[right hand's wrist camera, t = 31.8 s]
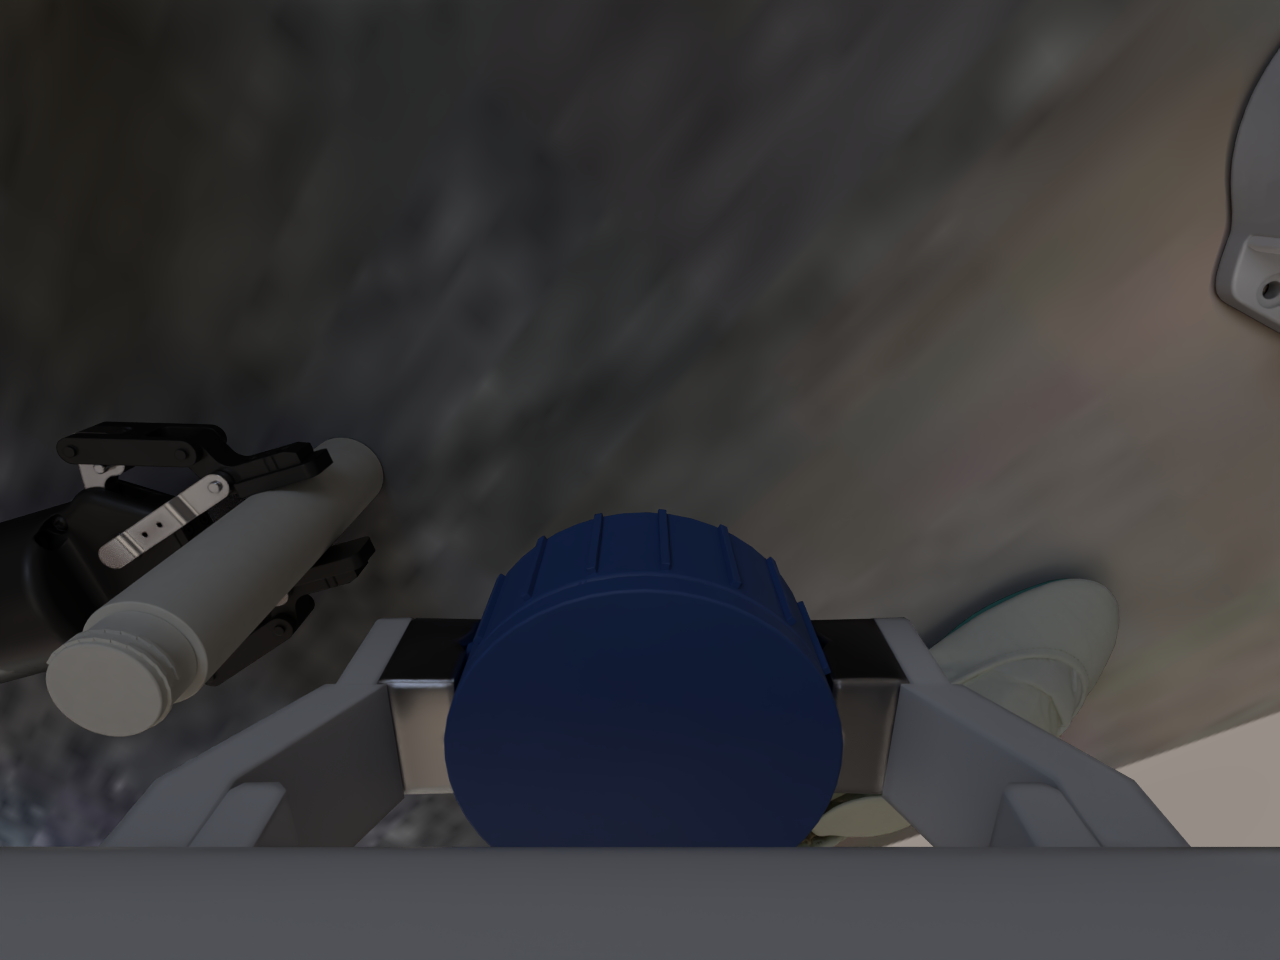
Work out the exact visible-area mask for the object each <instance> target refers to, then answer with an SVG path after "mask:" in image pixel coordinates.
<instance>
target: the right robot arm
mask: <svg viewBox="0 0 1280 960" xmlns="http://www.w3.org/2000/svg"><path fill="white" fill-rule="evenodd" d="M1231 204H1232V224H1231V232H1230V235H1229V237H1228V240H1227V243H1226V246H1225V249H1224V251H1223V254H1222V257H1221V260H1220V264H1219V267H1218V271H1217V275H1216V283H1215V287H1216V292H1217V295H1218V296H1219V298H1220V299H1221V300H1222V301H1224V302H1225V303H1227V304H1228V305H1230V306H1232V307H1234V308H1236V309H1237V310H1239V311H1241V312H1243V313H1244V314H1246V315H1248V316H1250V317H1252V318H1253V319H1255V320H1257V321H1259V322H1261V323H1262V324H1264V325H1266V326H1268V327H1270V328H1271V329H1273V330H1275V331H1277V332H1278V333H1280V48H1279V49H1278V51H1277V52H1276V54H1275V55H1274V57H1273V58H1272V60H1271V61H1270V63H1269V64H1268V66H1267V67H1266V69H1265V71H1264V72H1263V74H1262V76H1261V78H1260V79H1259V81H1258V83H1257V85H1256V87H1255V89H1254V91H1253V93H1252V95H1251V97H1250V100H1249V102H1248V104H1247V107H1246V109H1245V112H1244V115H1243V117H1242V120H1241V123H1240V126H1239V130H1238V133H1237V137H1236V141H1235V146H1234V151H1233V157H1232V165H1231ZM1268 283H1269V288H1268V291H1267V292H1266V293H1265V294H1264V295H1263V294H1262V293H1263V289H1264V287H1265V286H1266V285H1267V284H1268ZM480 621H481V619H441V618H415V619H414V618H382V619H379V620H377V621H376V622H375V623H374V625H373V626H372V628H371V629H370V631H369V632H368V634H367V636H366V637H365V639H364V640H363V642H362V643H361V645H360V647H359V648H358V650H357V651H356V653H355V654H354V656H353V658H352V659H351V661H350V662H349V664H348V665H347V667H346V669H345V670H344V672H343V673H342V675H341V676H340V678H339V680H338V681H337V683H336V684H325V685H323V686H321V687H319V688H317V689H316V690H314V691H312V692H310V693H309V694H307V695H305V696H303V697H301V698H300V699H298V700H296V701H294V702H293V703H291V704H289V705H287V706H285V707H284V708H282V709H280V710H278V711H276V712H275V713H273V714H271V715H269V716H268V717H266V718H264V719H262V720H260V721H259V722H257V723H255V724H253V725H252V726H250V727H248V728H246V729H244V730H243V731H241V732H239V733H237V734H236V735H234V736H232V737H230V738H228V739H227V740H225V741H223V742H221V743H219V744H218V745H216V746H214V747H212V748H211V749H209V750H207V751H205V752H203V753H202V754H200V755H198V756H196V757H195V758H193V759H191V760H189V761H187V762H186V763H184V764H182V765H180V766H178V767H177V768H175V769H173V770H171V771H170V772H168V773H166V774H164V775H162V776H161V777H159V778H157V779H156V780H155V781H154V782H153V783H152V784H151V785H150V787H149V788H148V789H147V790H146V791H145V793H144V794H143V795H142V796H141V797H140V798H139V800H138V801H137V802H136V803H135V804H134V806H133V807H132V808H131V809H130V810H129V812H128V813H127V814H126V815H125V816H124V817H123V819H122V820H121V821H120V822H119V823H118V825H117V826H116V827H115V828H114V829H113V830H112V832H111V833H110V834H109V835H108V836H107V838H106V839H105V840H104V841H103V842H102V844H101V845H100V846H99V847H0V960H1280V847H1191V846H1190V845H1189V844H1188V843H1187V842H1186V841H1185V839H1184V838H1183V837H1182V836H1181V835H1180V834H1179V832H1178V831H1177V830H1176V829H1175V828H1174V826H1173V825H1172V824H1171V823H1170V822H1169V821H1168V819H1167V818H1166V817H1165V816H1164V815H1163V814H1162V812H1161V811H1160V810H1159V809H1158V808H1157V807H1156V805H1155V804H1154V803H1153V802H1152V801H1151V799H1150V798H1149V797H1148V796H1147V795H1146V794H1145V792H1144V791H1143V790H1142V789H1141V788H1140V787H1139V785H1138V784H1137V783H1136V782H1135V781H1134V780H1133V779H1131V778H1129V777H1127V776H1125V775H1124V774H1122V773H1120V772H1118V771H1117V770H1115V769H1113V768H1111V767H1109V766H1108V765H1106V764H1104V763H1102V762H1100V761H1099V760H1097V759H1095V758H1093V757H1091V756H1090V755H1088V754H1086V753H1084V752H1082V751H1081V750H1079V749H1077V748H1075V747H1074V746H1072V745H1070V744H1068V743H1066V742H1065V741H1063V740H1061V739H1059V738H1057V737H1056V736H1054V735H1052V734H1050V733H1048V732H1047V731H1045V730H1043V729H1041V728H1039V727H1038V726H1036V725H1034V724H1032V723H1030V722H1029V721H1027V720H1025V719H1023V718H1022V717H1020V716H1018V715H1016V714H1014V713H1013V712H1011V711H1009V710H1007V709H1005V708H1004V707H1002V706H1000V705H998V704H996V703H995V702H993V701H991V700H989V699H987V698H986V697H984V696H982V695H980V694H979V693H977V692H975V691H973V690H971V689H970V688H968V687H966V686H964V685H962V684H951V683H950V681H949V680H948V678H947V677H946V675H945V674H944V672H943V671H942V669H941V668H940V666H939V665H938V663H937V662H936V660H935V659H934V657H933V656H932V654H931V653H930V651H929V650H928V648H927V647H926V645H925V644H924V642H923V640H922V639H921V637H920V636H919V634H918V633H917V631H916V630H915V628H914V627H913V625H912V624H911V622H910V621H909V620H908V619H906V618H904V617H898V618H871V619H842V620H811V623H812V625H813V628H814V630H815V633H816V635H817V638H818V640H819V643H820V645H821V648H822V650H823V653H824V655H825V658H826V660H827V663H828V665H829V668H830V670H831V673H829V674H826V675H825V676H826V678H827V681H828V684H829V687H830V689H831V691H832V694H833V697H834V699H835V702H836V706H837V709H838V713H839V717H840V720H841V726H842V736H843V754H842V766H841V770H840V774H839V778H838V782H837V786H836V789H835V791H834V793H854V794H882V798H883V799H884V800H885V801H887V802H888V803H889V804H890V805H891V806H892V807H893V808H894V809H895V810H896V811H897V812H898V813H899V814H900V815H901V816H902V817H903V818H904V819H905V820H906V821H907V822H908V823H909V824H911V825H912V826H913V827H914V828H915V829H916V830H917V831H918V832H919V833H920V834H921V835H922V836H923V837H924V838H925V839H926V840H927V841H928V842H929V843H930V844H931V845H932V846H933V847H354V846H355V845H356V844H357V843H358V842H359V841H360V840H361V839H362V838H363V837H364V836H365V835H366V834H367V833H368V832H369V831H370V830H371V829H372V828H373V827H375V826H376V825H377V824H378V823H379V822H380V821H381V820H382V819H383V818H384V817H385V816H386V815H387V814H388V813H389V812H390V811H391V810H392V809H393V808H394V807H395V806H396V805H397V804H398V803H399V802H400V801H401V800H402V799H404V794H431V793H453V790H452V787H451V784H450V782H449V778H448V773H447V768H446V763H445V753H444V735H445V727H446V720H447V715H448V712H449V709H450V706H451V703H452V700H453V696H454V694H455V691H456V688H457V685H458V683H459V680H460V678H461V675H462V673H463V670H464V668H465V665H466V662H467V657H466V648H467V645H468V644H469V643H471V642H473V639H474V637H475V634H476V632H477V629H478V626H479V624H480Z"/></svg>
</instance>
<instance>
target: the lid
mask: <svg viewBox="0 0 1280 960" xmlns="http://www.w3.org/2000/svg"><path fill="white" fill-rule="evenodd" d="M466 657H467V662H466V665H465V668H464V670H463V673H462V675H461V678H460V680H459V683H458V685H457V688H456V691H455V694H454V696H453V700H452V703H451V706H450V709H449V712H448V715H447V720H446V727H445V735H444V753H445V763H446V768H447V773H448V778H449V782H450V784H451V787H452V790H453V793H454V795H455V798H456V800H457V802H458V804H459V806H460V808H461V809H462V811H463V813H464V815H465V817H466V818H467V820H468V821H469V822H470V824H471V825H472V826H473V828H474V829H475V830H476V832H477V833H478V834H479V835H480V836H481V837H482V838H483V839H484V840H485V841H486V842H487V843H488V844H489V845H490V847H797V846H798V845H799V844H800V843H801V842H802V841H803V840H804V839H805V838H806V837H807V836H808V835H809V833H810V832H811V831H812V830H813V828H814V827H815V826H816V825H817V823H818V822H819V820H820V819H821V817H822V815H823V814H824V812H825V810H826V809H827V807H828V805H829V803H830V801H831V798H832V796H833V794H834V791H835V789H836V786H837V782H838V778H839V774H840V770H841V766H842V754H843V736H842V726H841V720H840V717H839V713H838V709H837V706H836V702H835V699H834V697H833V694H832V691H831V689H830V687H829V684H828V681H827V678H826V676H825V675H826V674H829V673H831V670H830V668H829V665H828V663H827V660H826V658H825V655H824V653H823V650H822V648H821V645H820V643H819V640H818V638H817V635H816V633H815V630H814V628H813V625H812V623H811V620H810V618H809V615H808V613H807V610H806V608H805V605H804V603H803V601H801V602H798V603H797V602H796V600H795V597H794V595H793V593H792V591H791V590H790V588H789V587H788V585H787V584H786V582H785V581H784V579H783V578H782V576H781V575H780V573H779V570H778V568H777V565H776V562H775V560H774V559H773V558H772V557H769V558H768V559H765V558H764V557H763V556H762V555H761V554H759V553H758V552H757V551H756V550H755V549H754V548H752V547H751V546H749V545H748V544H746V543H745V542H743V541H742V540H740V539H739V538H737V537H735V536H734V535H732V534H730V533H728V529H727V527H726V526H723V525H721V524H720V526H719V527H718V528H717V527H715V526H712V525H709V524H706V523H703V522H700V521H697V520H694V519H691V518H686V517H681V516H676V515H671V514H667V513H666V510H662V509H659V510H658V513H647V512H645V513H623V514H617V515H611V516H605V517H603V514H602V513H600V514H595V516H594V519H593V520H589V521H586V522H583V523H579V524H577V525H574V526H572V527H570V528H568V529H565V530H563V531H561V532H558V533H556V534H555V535H553V536H551V537H550V538H548V539H546V537H545V536H542V537H541V538H539V539H538V541H537V544H536V547H535V548H533V549H532V550H531V551H530V552H528V553H527V554H526V555H525V556H523V557H522V558H521V559H520V560H519V561H518V562H517V563H516V564H515V566H514V567H513V568H512V569H511V570H510V571H509V572H508V573H507V575H506V576H504V575H503V574H500V575H499V576H498V578H497V580H496V582H495V585H494V588H493V590H492V593H491V595H490V598H489V601H488V603H487V606H486V608H485V611H484V614H483V616H482V619H481V621H480V624H479V626H478V629H477V632H476V634H475V637H474V639H473V642H471V643H469V644H468V645H467V648H466Z"/></svg>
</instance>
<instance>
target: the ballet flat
mask: <svg viewBox="0 0 1280 960" xmlns="http://www.w3.org/2000/svg"><path fill="white" fill-rule="evenodd" d="M1118 628H1119V608H1118V604H1117V601H1116V599H1115V597H1114V596H1113V594H1112V593H1111V592H1110V590H1109V589H1107V588H1106V587H1105V586H1104V585H1102V584H1100V583H1098V582H1096V581H1092V580H1087V579H1076V578H1074V579H1057V580H1052V581H1048V582H1044V583H1041V584H1038V585H1035V586H1032V587H1029V588H1027V589H1024V590H1021V591H1019V592H1016V593H1014V594H1011V595H1009V596H1007V597H1005V598H1003V599H1001V600H998V601H996V602H994V603H992V604H990V605H988V606H986V607H985V608H983V609H981V610H980V611H978V612H976V613H975V614H973V615H972V616H970V617H969V618H968V619H966V620H965V621H963V622H962V623H961V624H960V625H958V626H957V627H956V628H955V629H953V630H952V631H951V632H950V633H949V634H947V635H946V636H945V637H944V638H943V639H942V640H941V641H940V642H938V643H937V644H935V645H934V646H933V647H932V648H930V649H929V651H930V653H931V654H932V656H933V657H934V659H935V660H936V662H937V663H938V665H939V666H940V668H941V669H942V671H943V672H944V674H945V675H946V677H947V678H948V680H949V681H950V683H951V684H962V685H964V686H966V687H968V688H970V689H971V690H973V691H975V692H977V693H979V694H980V695H982V696H984V697H986V698H987V699H989V700H991V701H993V702H995V703H996V704H998V705H1000V706H1002V707H1004V708H1005V709H1007V710H1009V711H1011V712H1013V713H1014V714H1016V715H1018V716H1020V717H1022V718H1023V719H1025V720H1027V721H1029V722H1030V723H1032V724H1034V725H1036V726H1038V727H1039V728H1041V729H1043V730H1045V731H1047V732H1048V733H1050V734H1052V735H1054V736H1056V737H1057V738H1059V737H1060V736H1061V735H1062V733H1063V732H1065V730H1066V729H1067V728H1068V727H1069V726H1070V724H1071V720H1072V719H1073V718H1074V717H1075V716H1076V714H1077V713H1078V712H1079V710H1080V709H1081V707H1082V706H1083V703H1084V701H1085V698H1086V696H1087V695H1088V694H1089V693H1090V691H1091V690H1092V689H1093V687H1094V686H1095V684H1096V682H1097V681H1098V679H1099V677H1100V675H1101V674H1102V672H1103V669H1104V667H1105V666H1106V664H1107V661H1108V659H1109V657H1110V655H1111V653H1112V651H1113V648H1114V646H1115V643H1116V637H1117V632H1118ZM908 826H911V824H909V823H908V822H907V821H906V820H905V819H904V818H903V817H902V816H901V815H900V814H899V813H898V812H897V811H896V810H895V809H894V808H893V807H892V806H891V805H890V804H889V803H888V802H887V801H885V800H884V799H883V798H882V794H854V793H834V794H833V796H832V798H831V801H830V803H829V805H828V807H827V809H826V810H825V812H824V814H823V815H822V817H821V819H820V820H819V822H818V823H817V825H816V826H815V827H814V828H813V830H812V831H811V832H810V833H809V835H808V836H807V837H806V838H805V839H804V840H803V841H802V842H801V843H800V844H799V845H798V846H797V847H834V846H835V845H837V844H838V843H839V842H842V841H843V840H845V839H846V838H847V837H870V836H878V835H883V834H888V833H892V832H895V831H899V830H901V829H903V828H906V827H908Z"/></svg>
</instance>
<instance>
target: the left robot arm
mask: <svg viewBox="0 0 1280 960" xmlns="http://www.w3.org/2000/svg"><path fill="white" fill-rule="evenodd" d="M226 442H227V437H226V434H225V432H224V431H223V430H222V429H221V428H220V427H218V426H216V425H210V424H174V423H138V422H102V423H100V424H97V425H95V426H92V427H89V428H87V429H84V430H82V431H79V432H77V433H74V434H73V435H70V436H68V437H65V438H63V439H61V440H59V441H58V443H57V447H56V448H57V452H58V454H59V456H60V457H61V458H62V459H63V460H64V461H66V462H68V463H70V464H78V465H79V469H80V473H81V476H82V480H83V483H84V487H85V489H84V490H82V491H81V492H79V493H78V494H77V495H76V496H75V498H74V499H73V501H72V502H69V503H66V504H62V505H59V506H55V507H52V508H49V509H45V510H42V511H39V512H35V513H32V514H28V515H25V516H22V517H18V518H15V519H12V520H8V521H5V522H2V523H0V683H4V682H8V681H12V680H16V679H19V678H23V677H27V676H31V675H34V674H38V673H42V672H46V671H47V669H48V666H49V664H47V661H48V659H49V657H50V656H51V654H52V653H53V652H54V651H55V650H57V649H58V648H59V647H61V646H62V645H63V644H64V643H66V642H67V641H68V640H70V639H71V638H72V637H74V636H75V635H76V634H78V633H80V632H83V629H84V626H85V624H86V622H87V620H88V619H89V618H90V616H91V615H92V614H93V613H94V612H95V611H97V610H98V609H99V608H101V607H102V606H103V605H105V604H106V603H107V602H109V601H110V600H111V599H113V598H114V597H115V596H117V595H118V594H119V593H121V592H122V591H123V590H125V589H126V588H128V587H129V586H130V585H132V584H133V583H134V582H136V581H137V580H138V579H140V578H141V577H142V576H144V575H145V574H146V573H148V572H149V571H150V570H152V569H153V568H154V567H156V566H157V565H158V564H160V563H161V562H162V561H164V560H165V559H167V558H168V557H169V556H171V555H172V554H173V553H175V552H176V551H177V550H179V549H180V548H181V547H183V546H184V545H185V544H187V543H188V542H189V541H191V540H192V539H193V538H195V537H196V536H197V535H199V534H200V533H201V532H203V531H204V530H205V529H207V528H208V527H210V526H211V525H212V524H213V521H212V520H211V518H210V516H209V514H208V513H207V511H206V510H208V509H209V508H211V507H212V506H214V505H215V504H217V503H218V502H220V501H221V500H223V499H224V498H225V497H227V496H230V495H234V494H237V493H238V495H239V497H240V499H242V498H245V497H248V496H252V495H255V494H258V493H262V492H266V491H269V490H273V489H276V488H280V487H283V486H286V485H290V484H293V483H297V482H300V481H304V480H307V479H310V478H313V477H315V476H317V475H319V474H320V473H322V472H323V471H324V470H325V469H326V468H328V467H329V466H330V465H331V464H332V463H333V460H332V458H331V456H330V454H329V452H328V450H327V448H324V449H320V450H317V451H314V450H313V448H312V446H311V444H310V443H306V442H296V443H292V444H289V445H286V446H282V447H279V448H276V449H272V450H269V451H265V452H262V453H259V454H255V455H252V456H243V455H240V454H238V453H236V452H234V451H233V450H232V449H231V448H230V447H229V446H228V445H227V444H226ZM135 466H159V467H189V468H190V469H191V470H192V471H193V472H194V473H195V474H196V475H197V476H198V477H199V478H200V479H201V480H199V481H198V482H196V483H195V484H193V485H192V486H190V487H189V488H188V489H186V490H185V491H183V492H182V493H180V494H179V495H177V496H172V495H169V494H166V493H162V492H159V491H156V490H152V489H149V488H146V487H142V486H139V485H136V484H133V483H129V482H126V481H123V480H118V477H119V475H120V474H122V473H124V472H126V471H127V470H129V469H131V468H133V467H135ZM374 552H375V548H374V546H373V544H372V542H371V540H370V538H369V537H363V538H359V539H356V540H352V541H348V542H345V543H341V544H337V545H334V546H330V547H329V548H328V549H327V550H326V552H325V553H324V554H323V555H322V556H321V557H320V558H319V559H318V560H317V561H316V563H315V564H314V565H313V566H312V567H311V568H310V569H309V570H308V571H307V572H306V573H305V575H304V576H303V577H302V578H301V579H300V580H299V581H298V582H297V583H296V584H295V586H294V587H293V588H292V589H291V590H290V591H289V592H288V593H287V594H286V595H285V596H284V598H283V599H282V600H281V601H280V602H279V603H278V604H277V605H276V606H275V607H274V608H273V610H272V611H271V612H270V613H269V614H268V615H267V616H266V617H265V618H264V619H263V621H262V622H261V623H260V624H259V625H258V626H257V627H256V628H255V629H254V630H253V631H252V633H251V634H250V635H249V636H248V637H247V638H246V639H245V640H244V641H243V642H242V644H241V645H240V646H239V647H238V648H237V649H236V650H235V651H234V652H233V653H232V654H231V656H230V657H229V658H228V659H227V660H226V661H225V662H224V663H223V664H222V665H221V667H220V668H219V669H218V670H217V671H216V672H215V673H214V674H213V675H212V676H211V677H210V679H209V680H208V681H207V682H206V683H205V684H206V685H208V686H218V685H220V684H221V683H223V682H224V681H226V680H227V679H229V678H230V677H232V676H233V675H235V674H236V673H238V672H239V671H241V670H242V669H244V668H245V667H247V666H248V665H250V664H251V663H253V662H254V661H256V660H257V659H259V658H260V657H262V656H263V655H265V654H266V653H268V652H269V651H271V650H272V649H274V648H275V647H277V646H278V645H280V644H281V643H283V642H284V641H286V640H287V639H289V638H290V637H291V636H292V635H293V634H294V632H295V631H296V630H297V629H298V627H299V626H300V625H301V624H302V623H303V621H304V620H305V619H306V618H307V616H308V615H309V614H310V613H311V611H312V610H313V609H314V606H315V603H314V600H313V599H312V597H311V596H309V595H308V594H310V593H314V592H317V591H321V590H325V589H329V588H332V587H336V586H338V585H339V586H340V585H343V584H347V583H350V582H351V581H353V580H354V579H355V578H356V577H358V575H359V574H360V573H361V571H362V570H363V569H364V567H365V566H366V565H367V564H368V560H369V558H370V557H371V556H372V554H373V553H374Z"/></svg>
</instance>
